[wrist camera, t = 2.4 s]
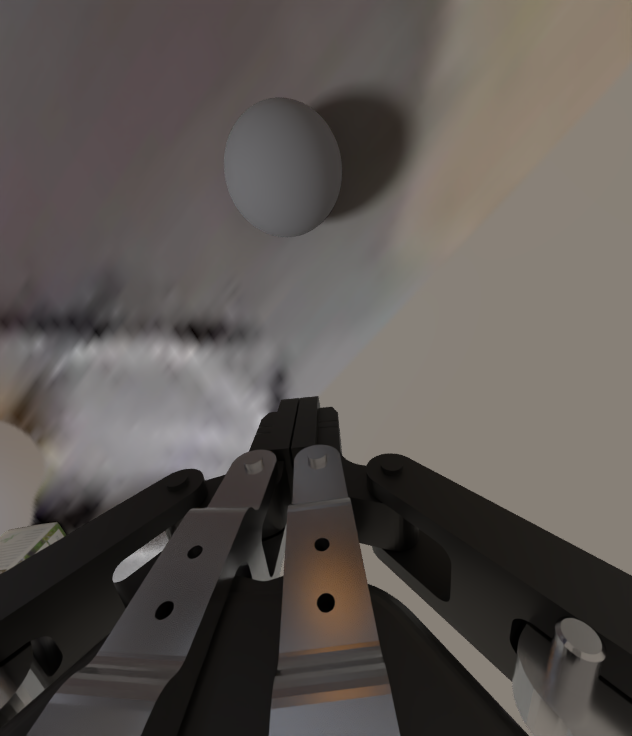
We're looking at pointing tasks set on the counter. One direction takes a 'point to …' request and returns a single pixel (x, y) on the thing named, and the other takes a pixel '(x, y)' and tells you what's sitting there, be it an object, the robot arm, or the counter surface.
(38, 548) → the syrup box
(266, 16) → the counter surface
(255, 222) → the cue ball
